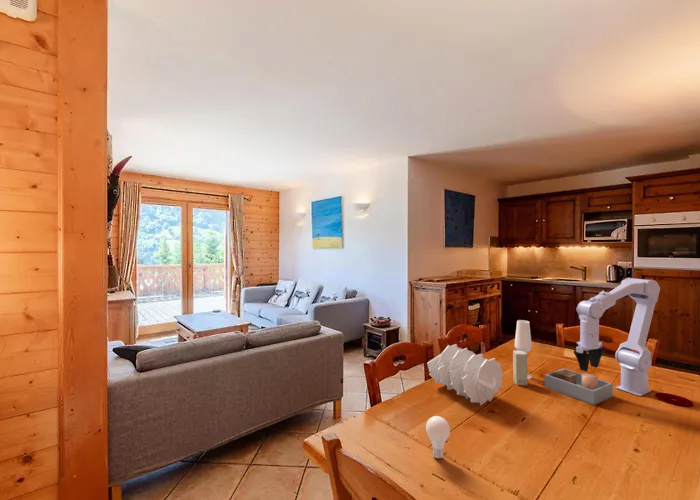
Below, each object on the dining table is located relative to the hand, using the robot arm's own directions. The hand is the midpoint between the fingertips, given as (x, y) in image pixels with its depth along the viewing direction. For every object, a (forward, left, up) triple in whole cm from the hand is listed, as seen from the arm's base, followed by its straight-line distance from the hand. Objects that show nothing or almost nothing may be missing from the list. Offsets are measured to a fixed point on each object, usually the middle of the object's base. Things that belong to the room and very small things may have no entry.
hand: (589, 368), depth 126 cm
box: (+12, -20, -11) cm, 26 cm away
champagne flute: (+4, -24, -11) cm, 27 cm away
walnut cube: (0, -8, -10) cm, 13 cm away
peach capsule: (0, 0, -10) cm, 10 cm away
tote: (0, -4, -10) cm, 11 cm away
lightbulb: (+76, -1, -11) cm, 77 cm away
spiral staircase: (+40, -24, -11) cm, 48 cm away
